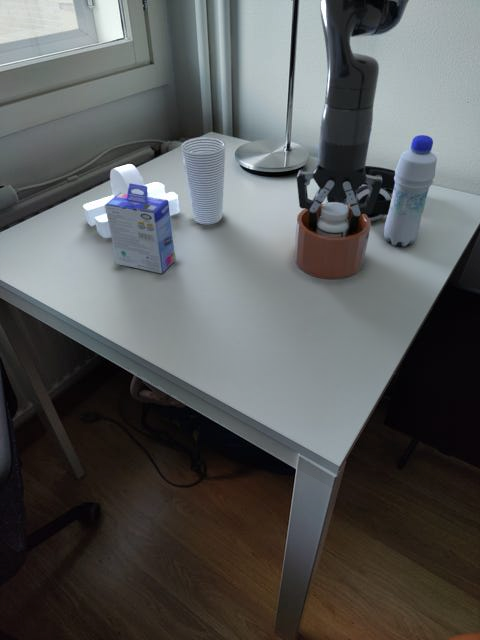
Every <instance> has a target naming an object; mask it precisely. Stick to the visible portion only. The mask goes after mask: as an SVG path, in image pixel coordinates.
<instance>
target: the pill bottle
mask: <svg viewBox="0 0 480 640" xmlns="http://www.w3.org/2000/svg"><path fill="white" fill-rule="evenodd" d="M323 204H324V205H323V206H322V208H321V216H320V217H319V218H318V220H317V224H316V234H318V235H322V236H326V237H336V238H337V237H348V233H349V227H350V223H349V220H348V219H347V217H348V214H349V208H348V207H347V206H348V205H346V204H345V203H338V202H330V203H328V202H326V203H323Z"/></svg>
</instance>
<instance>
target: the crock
mask: <svg viewBox="0 0 480 640" xmlns="http://www.w3.org/2000/svg"><path fill="white" fill-rule="evenodd" d="M324 204H325V203H322V204H321V205H320V206H319V208H318V217H317V220H318V218H319V217H320V216H321V208H322V206H323V205H324ZM346 206H347V207H348V208H349V214H348V217H347V219H348V220H349V223H350V218H351V211H352V209H351V207H350V205H346ZM296 217H297V218H296V224H295V226H296V227H295V238H294V250H293V253H294V254H293V258H294V263H295V264H296V266H297V267H298V268H299V269H300V270H301V271H302V272H304V273H305V274H308V275H310V276H312V277H316V278H320V279H326V280H339V279H345V278H349V277H352V276H354V275H355V274H357V273H358V272H359V271H360V270H361V269H362V267H363V265H364V262H365V257H366V252H367V247H368V242H369V236H370V232H371V222H370V220H369V218H368V217H367V215H366V214H362V215H361V216H360V217H359V223H358V229H357V231H356V232H353V235H348V237H337V238H336V237H326V236H322V235H318V234H316V232H315V231H312V228H309V226H308V224H309V210H307V209H305V208H304V209H302V210H301V211H300V212H299V213H298V214H297V216H296Z"/></svg>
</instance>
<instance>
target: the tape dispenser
mask: <svg viewBox="0 0 480 640" xmlns="http://www.w3.org/2000/svg"><path fill="white" fill-rule="evenodd" d="M109 181H110V186H111V191H112V195H108V196H106V197H101V198H99V199H97V200H96V199H95V200H93V201H90V202H87V203H84V204H83V205H82V207H83V211H84V215H85V219H86V223H87V225H89V226H90V227H93V226H96V230H97V233H98V234H99V236H100V237H101V238H103V239H109V238H112V237H111V233H110V228H109V223H108V218H107V214H106V209H105V204H106V203H108V202H109V201H110V200H111V199H112V198H114V197H115V196H116V195H118V194H119V193H125V194H128V188H129V184H136V185H142V186H148V191H147V197H153V198H160V199H167V200H168V204H169V212H170V217H172V216H175V215H178V214H179V213H180V204H179V195H178V194H176V192H174V191H170V192H167V193H166V188H165V185H164V184H163V183H161V182H159V181H157V182H156V181H154V182H151V183H147V184H145V181H144V179H143V177H142V175H141V173H140V171H139V170H138V168H137V167H136V166H135V165H133V164H131V163H128V164H125V165H121V166H117V167H114V168H112V169H111V170H110V173H109ZM131 192H132V193H133V194H139V195H143V194H144V192H143V191H141V190H139V189H133V190H132V191H131Z"/></svg>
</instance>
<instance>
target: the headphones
mask: <svg viewBox="0 0 480 640" xmlns="http://www.w3.org/2000/svg"><path fill="white" fill-rule="evenodd" d="M365 171H366V175H371V176H376V175H381V176H382V187H381V190H380V192H379V195H378V197H377V200H376V203H375V205H374V208H373V211H372V213H371V214H366V213H365V214H366V215H367V217H368V218H369V220H370V223H371V222H375V221H378V220H380V219H382V218H383V217H385V216H388V212H389V209H390V204H391V199H392V194H391V192H390V191H393V190H394V185H395V180H394V177H395V170H394V169H390V168H386V167H380V166H374V165H373V166H372V165H365ZM367 185H368V184H367V183H366V182H365V183H364V184H363V185H362V186H361V187H360V188H359V189H358V190H357V195H358V199H359V202H360V204H363V203H365V202H366V199H367V197H368V194H369V191H370V190H368V188H367ZM389 190H390V191H389ZM326 199H327V203H330V202H338V203H342V204H344V203H345V202H346V200H348V199H347V198H346V199H341V198H338V197H334V198H327V197H326ZM349 206H350V205H349ZM350 207H351V206H350Z"/></svg>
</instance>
